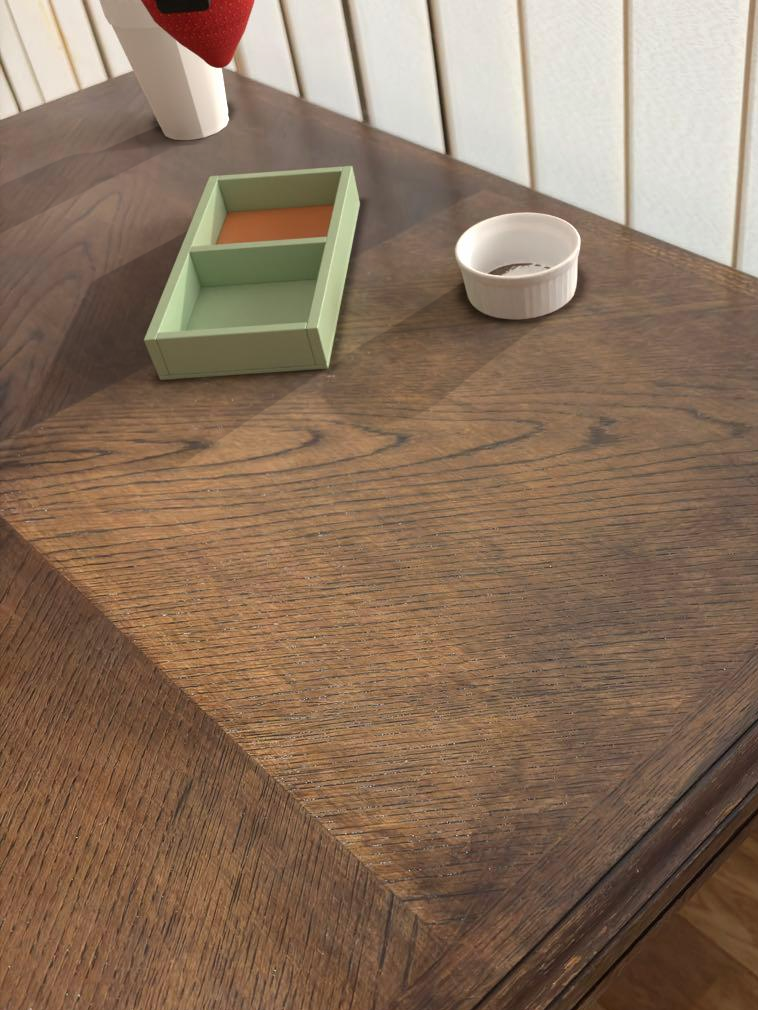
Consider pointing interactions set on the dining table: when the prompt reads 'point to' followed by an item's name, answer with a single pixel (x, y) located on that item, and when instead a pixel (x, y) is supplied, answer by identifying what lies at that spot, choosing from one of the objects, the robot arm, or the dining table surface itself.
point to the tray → (258, 276)
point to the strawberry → (207, 28)
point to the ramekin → (520, 287)
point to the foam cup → (169, 74)
